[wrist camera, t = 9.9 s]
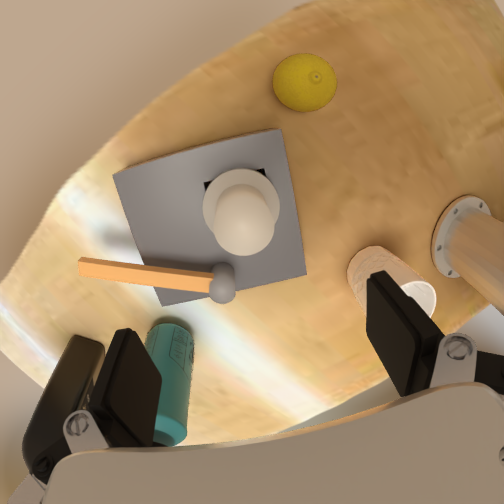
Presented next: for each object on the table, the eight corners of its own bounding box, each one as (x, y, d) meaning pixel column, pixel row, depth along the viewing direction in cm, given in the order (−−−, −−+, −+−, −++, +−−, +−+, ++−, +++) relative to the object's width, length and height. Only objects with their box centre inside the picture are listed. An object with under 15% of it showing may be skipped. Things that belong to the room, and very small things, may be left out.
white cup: (338, 297, 38) (366, 348, 29) (345, 241, 34) (382, 284, 25) (389, 292, 38) (424, 336, 29) (400, 239, 35) (444, 277, 26)
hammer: (89, 266, 29) (76, 284, 25) (88, 246, 28) (73, 262, 24) (232, 284, 31) (233, 304, 27) (235, 263, 30) (237, 282, 26)
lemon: (329, 98, 27) (361, 94, 20) (284, 122, 28) (303, 122, 21) (303, 54, 25) (327, 35, 18) (257, 76, 26) (266, 61, 19)
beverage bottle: (141, 319, 37) (100, 451, 19) (186, 309, 37) (165, 452, 19) (161, 354, 40) (138, 479, 22) (204, 345, 39) (197, 480, 21)
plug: (264, 155, 29) (281, 172, 20) (277, 216, 32) (297, 258, 23) (199, 170, 29) (185, 195, 20) (215, 231, 32) (211, 278, 23)
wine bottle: (105, 343, 38) (44, 532, 11) (105, 367, 41) (58, 539, 13) (71, 332, 37) (-4, 507, 10) (74, 357, 40) (14, 518, 12)
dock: (274, 127, 28) (281, 128, 25) (299, 257, 35) (307, 274, 31) (125, 167, 29) (112, 174, 25) (168, 287, 35) (162, 306, 31)
